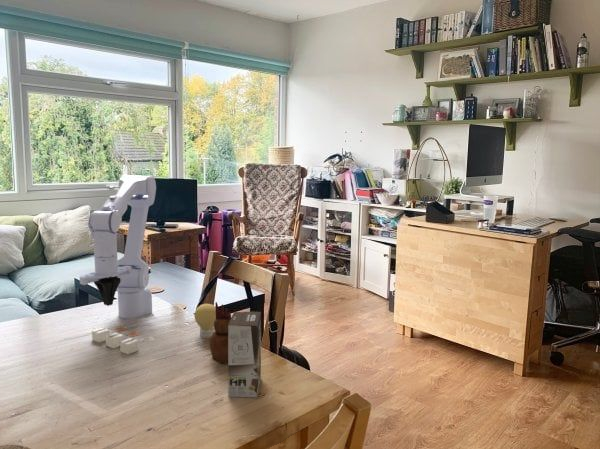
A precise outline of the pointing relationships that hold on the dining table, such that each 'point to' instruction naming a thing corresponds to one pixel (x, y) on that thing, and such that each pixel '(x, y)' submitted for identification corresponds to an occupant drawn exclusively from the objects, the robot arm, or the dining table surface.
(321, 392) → the dining table surface
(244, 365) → the coffee box
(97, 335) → the slider
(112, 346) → the slider middle
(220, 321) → the wooden figurine
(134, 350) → the slider
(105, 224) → the robot arm
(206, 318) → the light bulb
